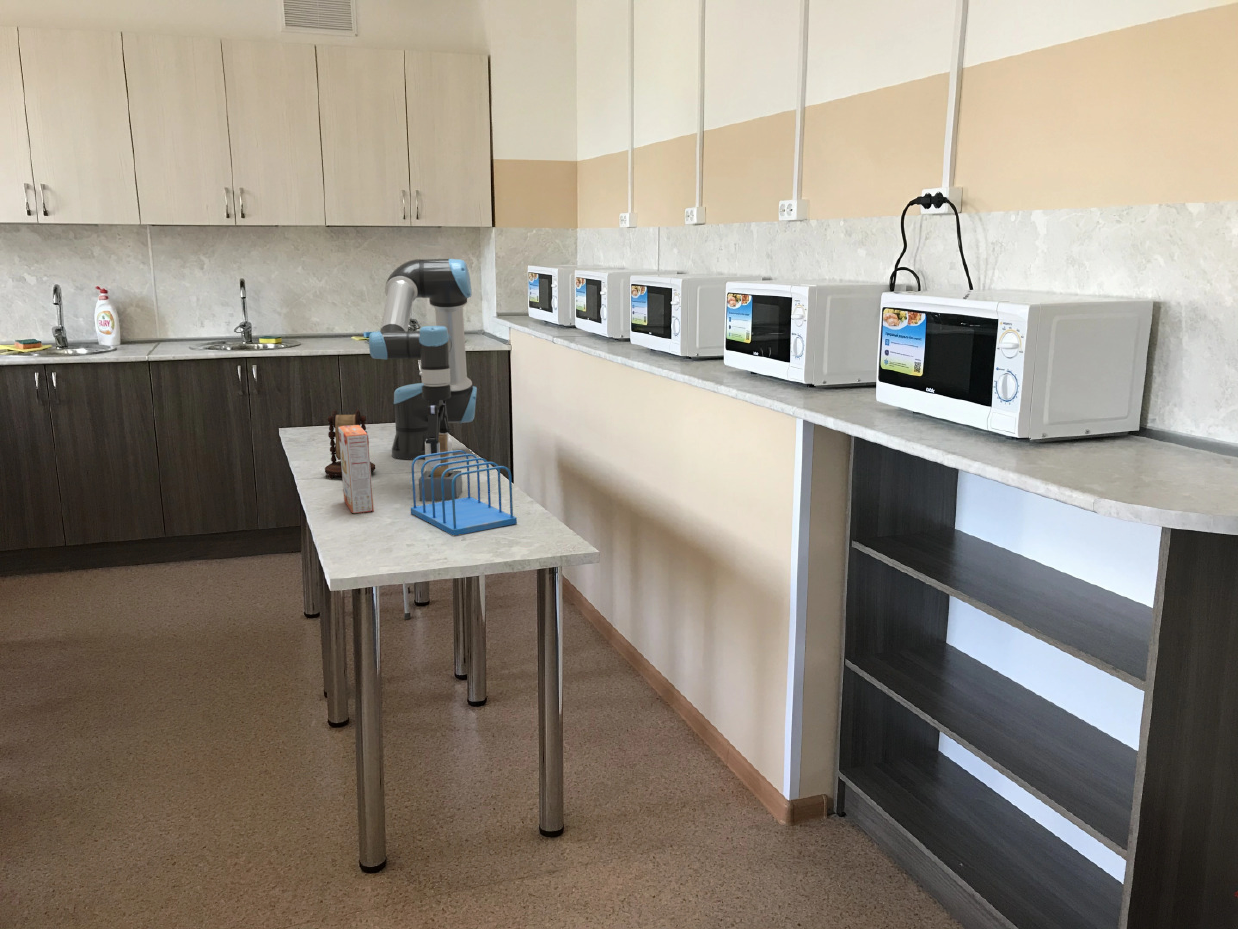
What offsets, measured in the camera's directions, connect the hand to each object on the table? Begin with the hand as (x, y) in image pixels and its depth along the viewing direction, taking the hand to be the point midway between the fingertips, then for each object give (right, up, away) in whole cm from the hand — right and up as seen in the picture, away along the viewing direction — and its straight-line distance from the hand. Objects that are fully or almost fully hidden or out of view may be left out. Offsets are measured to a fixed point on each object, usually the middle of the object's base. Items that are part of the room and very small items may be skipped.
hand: (439, 461), depth 269 cm
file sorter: (+10, -15, -21) cm, 27 cm away
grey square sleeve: (0, -9, +2) cm, 10 cm away
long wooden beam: (0, -8, +2) cm, 9 cm away
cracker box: (-20, -12, -8) cm, 25 cm away
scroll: (-32, -4, +28) cm, 43 cm away
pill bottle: (-4, -5, +23) cm, 24 cm away
